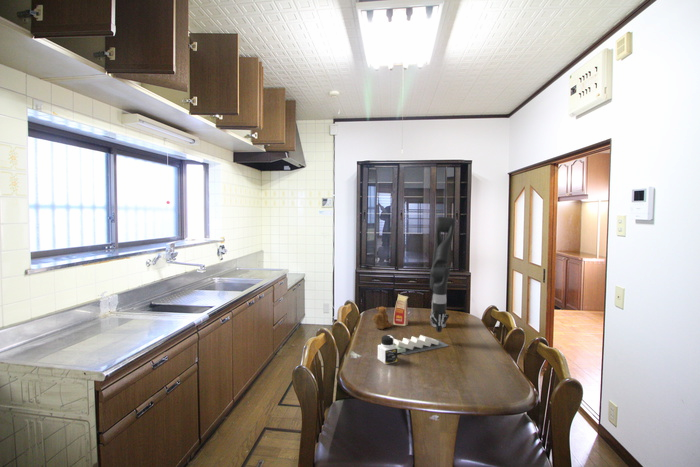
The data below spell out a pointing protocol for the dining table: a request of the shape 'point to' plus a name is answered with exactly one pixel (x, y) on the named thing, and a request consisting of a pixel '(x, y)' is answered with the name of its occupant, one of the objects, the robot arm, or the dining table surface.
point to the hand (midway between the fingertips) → (438, 331)
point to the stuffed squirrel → (382, 319)
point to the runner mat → (424, 348)
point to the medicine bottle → (387, 350)
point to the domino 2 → (400, 349)
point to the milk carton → (401, 311)
